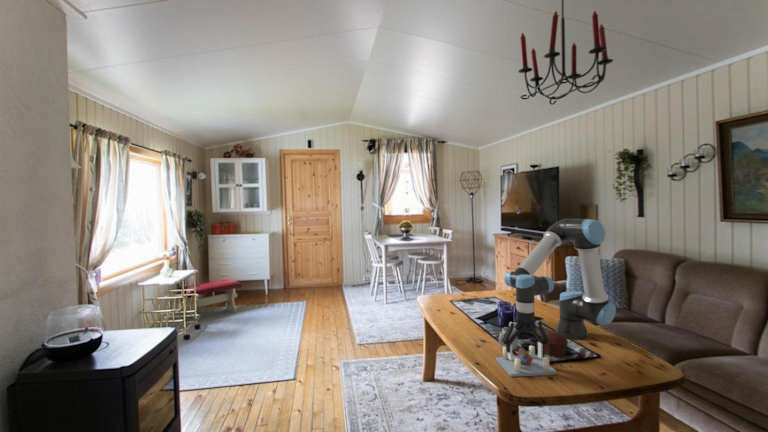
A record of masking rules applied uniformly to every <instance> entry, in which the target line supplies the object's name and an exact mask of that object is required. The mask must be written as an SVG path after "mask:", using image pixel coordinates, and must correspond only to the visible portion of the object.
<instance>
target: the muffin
mask: <svg viewBox="0 0 768 432" xmlns="http://www.w3.org/2000/svg"><path fill="white" fill-rule="evenodd" d="M545 334H546V336H547V338H548V340H549V342H546V344H545V345H544V351H543V353H544V354H545V355H547V356H549V357H552V356H554V358H563V357H565V356H566V352H567V345H568V342H569V341H568V338H566V337H565V336H564V335H562V334H561V333H559V332H556V330H555V331H554V330H553V331H551V330H550V331H547V332H545ZM540 337H541V338H542V339H543V337H542V336H540ZM564 355H565V356H564Z"/></svg>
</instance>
